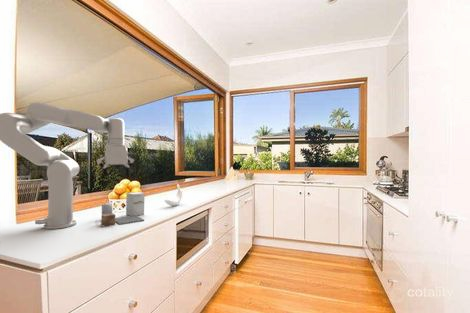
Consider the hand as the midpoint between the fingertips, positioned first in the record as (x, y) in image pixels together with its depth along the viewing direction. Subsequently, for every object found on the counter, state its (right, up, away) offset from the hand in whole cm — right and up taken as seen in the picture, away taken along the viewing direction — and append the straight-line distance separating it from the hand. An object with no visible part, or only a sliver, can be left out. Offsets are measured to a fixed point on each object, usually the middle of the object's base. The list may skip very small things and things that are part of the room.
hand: (116, 175), depth 119 cm
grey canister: (-8, -24, +6) cm, 26 cm away
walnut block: (-2, -24, -5) cm, 24 cm away
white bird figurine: (+18, -25, +44) cm, 54 cm away
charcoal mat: (+5, -24, +3) cm, 24 cm away
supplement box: (+3, -24, +16) cm, 29 cm away
